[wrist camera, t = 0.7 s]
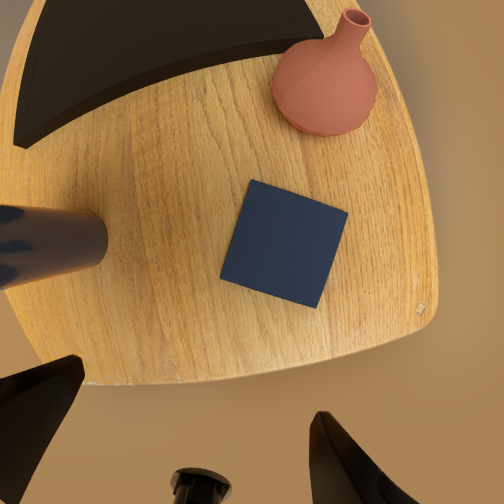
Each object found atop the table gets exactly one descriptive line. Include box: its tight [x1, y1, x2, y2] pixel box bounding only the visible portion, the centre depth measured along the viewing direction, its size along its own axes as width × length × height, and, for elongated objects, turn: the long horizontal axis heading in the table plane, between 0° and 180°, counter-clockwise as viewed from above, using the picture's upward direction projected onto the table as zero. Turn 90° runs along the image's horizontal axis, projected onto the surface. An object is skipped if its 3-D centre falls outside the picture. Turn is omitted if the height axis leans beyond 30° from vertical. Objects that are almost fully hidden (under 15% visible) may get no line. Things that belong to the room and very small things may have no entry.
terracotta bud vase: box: [272, 8, 377, 137], centre depth 15 cm, size 8×8×12 cm
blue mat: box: [220, 180, 348, 308], centre depth 21 cm, size 8×8×1 cm
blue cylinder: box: [0, 204, 108, 290], centre depth 15 cm, size 5×5×13 cm
